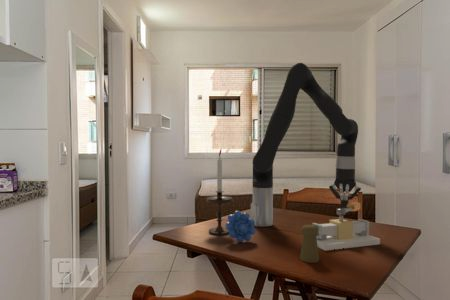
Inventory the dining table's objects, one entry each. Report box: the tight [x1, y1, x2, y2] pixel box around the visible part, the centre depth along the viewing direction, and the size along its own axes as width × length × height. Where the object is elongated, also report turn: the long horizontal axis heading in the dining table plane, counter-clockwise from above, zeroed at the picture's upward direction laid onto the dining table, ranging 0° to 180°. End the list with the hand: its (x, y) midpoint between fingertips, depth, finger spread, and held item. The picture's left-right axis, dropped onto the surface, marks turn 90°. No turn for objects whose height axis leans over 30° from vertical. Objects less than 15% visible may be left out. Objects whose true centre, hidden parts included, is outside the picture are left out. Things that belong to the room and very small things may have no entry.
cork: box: [299, 224, 320, 263], centre depth 112 cm, size 6×6×11 cm
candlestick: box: [206, 149, 233, 236], centre depth 145 cm, size 11×11×35 cm
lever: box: [336, 201, 361, 216], centre depth 138 cm, size 3×19×2 cm, turn 140°
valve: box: [311, 215, 381, 252], centre depth 132 cm, size 24×14×10 cm, turn 109°
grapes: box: [225, 210, 256, 243], centre depth 130 cm, size 12×7×12 cm, turn 104°
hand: (344, 209), depth 145 cm, fingers closed
